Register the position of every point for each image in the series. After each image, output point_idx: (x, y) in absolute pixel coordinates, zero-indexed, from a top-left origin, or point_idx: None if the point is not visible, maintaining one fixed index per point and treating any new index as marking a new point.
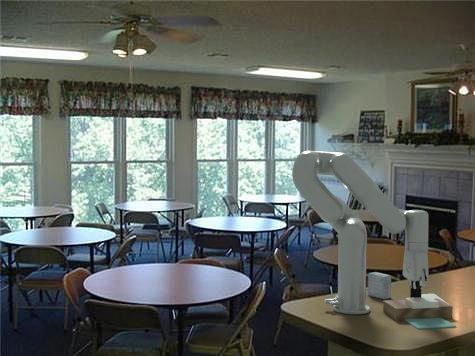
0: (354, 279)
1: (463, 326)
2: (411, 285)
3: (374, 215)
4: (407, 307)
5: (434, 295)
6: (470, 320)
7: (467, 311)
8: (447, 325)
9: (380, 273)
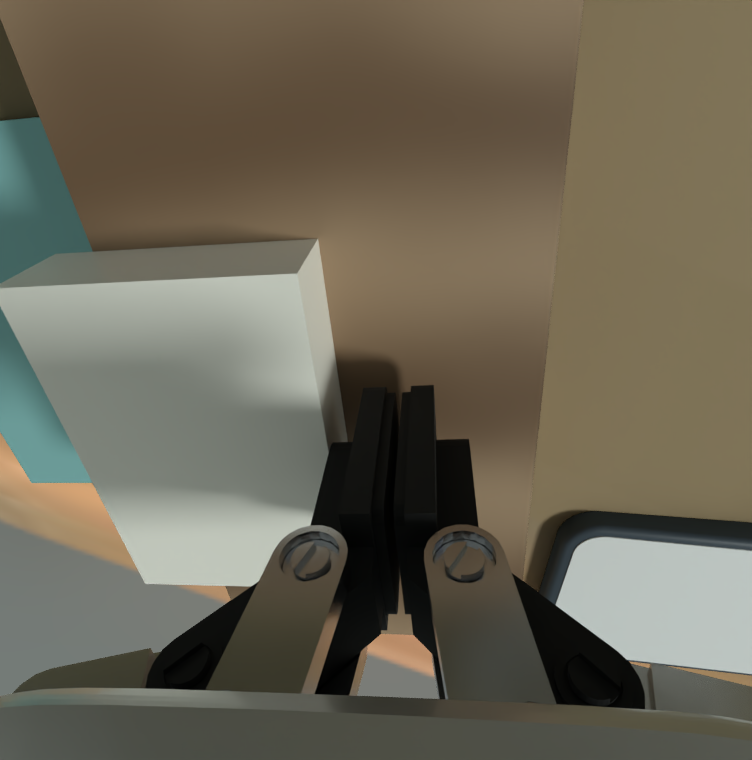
0: None
1: (76, 521)
2: (428, 571)
3: None
4: (99, 194)
5: None
6: (226, 602)
7: (428, 663)
8: (22, 435)
9: None
